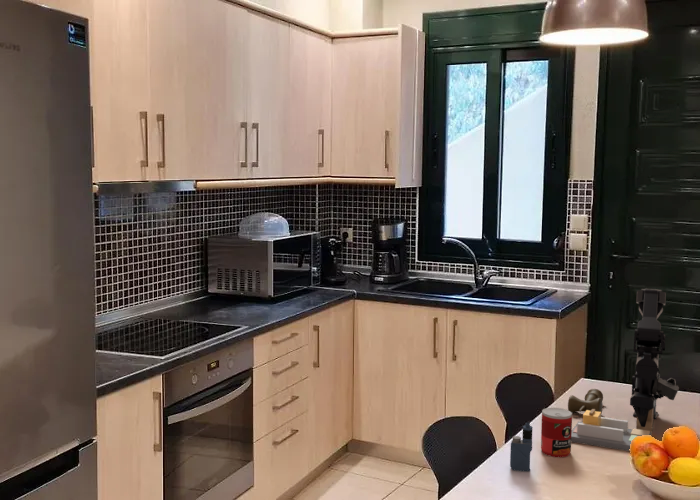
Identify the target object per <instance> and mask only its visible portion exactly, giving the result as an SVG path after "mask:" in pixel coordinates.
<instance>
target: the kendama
mask: <svg viewBox="0 0 700 500" xmlns="http://www.w3.org/2000/svg"><path fill="white" fill-rule="evenodd" d="M603 400H604V394H603V392H602V391H601V390H600V389H596V388H591V389H589V390H588V391H587V393H585V395H584V400H583V399H580V398H579V397H576V396H575V395H572V394H571V395H570V396H569V398H568V402H567V410H568V411H570V412H571V413H572V414H575V413H582V412H584V413H585V411H586V410H590V411H591V410H592V409H595V411H597V412H601V415H602V414H603V408H604V407H603Z"/></svg>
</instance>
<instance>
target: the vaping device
mask: <svg viewBox="0 0 700 500" xmlns="http://www.w3.org/2000/svg"><path fill="white" fill-rule="evenodd" d="M532 451H533V426H532V425H531V423H530V422H525V425H522V437H521V436H518V435H514V436H512V440H511V443H510V453H509V454H510V455H509V456H510V457H509V458H510V459H509V466H510V469H511V471H513V472H515V471H516V472H517V471H518V472H530V471H531V469H530V468H531V452H532Z"/></svg>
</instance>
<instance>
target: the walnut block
mask: <svg viewBox="0 0 700 500" xmlns="http://www.w3.org/2000/svg"><path fill="white" fill-rule="evenodd" d="M653 411H654V408H653V409H651V410H650V411H649V414H648V418H647V422H646V426H645V427H641V425H640V423H639V420H638V418H637V417H636V423H635V425H636V427H635V429H640V430H647V431H650V432H651V433H653V430H654V429H653V428H654V419H653Z"/></svg>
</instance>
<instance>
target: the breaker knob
mask: <svg viewBox="0 0 700 500" xmlns="http://www.w3.org/2000/svg"><path fill="white" fill-rule="evenodd" d="M601 417H602V414H601V412H597V411H595V409H592V410H591V411H590V410H586V411H585V412H584V413H583V414H582V422H583V424H590V425H597V426H601Z"/></svg>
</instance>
